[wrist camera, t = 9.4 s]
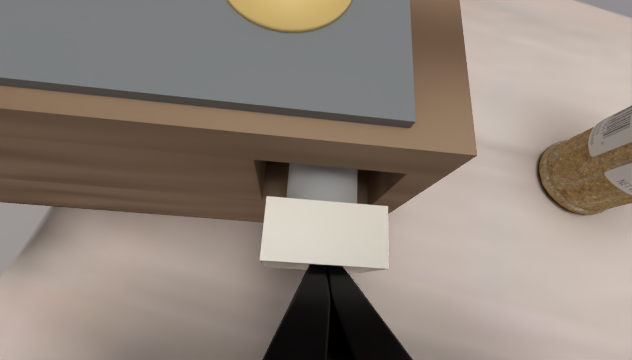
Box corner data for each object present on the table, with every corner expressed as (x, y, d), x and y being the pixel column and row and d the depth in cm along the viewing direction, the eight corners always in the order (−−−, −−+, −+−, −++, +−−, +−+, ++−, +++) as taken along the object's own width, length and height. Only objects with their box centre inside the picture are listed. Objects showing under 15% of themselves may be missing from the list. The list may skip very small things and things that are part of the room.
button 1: (358, 273, 11) (388, 268, 8) (265, 267, 11) (259, 260, 8) (361, 46, 14) (384, -20, 11) (289, 37, 14) (291, -33, 11)
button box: (363, 229, 16) (476, 155, 7) (-35, 199, 15) (-584, 50, 5) (365, 96, 19) (449, -90, 10) (25, 58, 17) (-278, -211, 8)
